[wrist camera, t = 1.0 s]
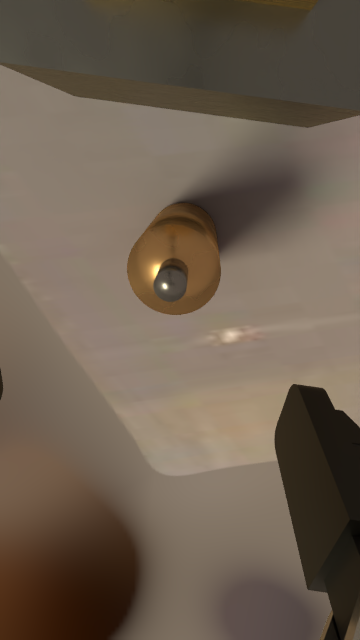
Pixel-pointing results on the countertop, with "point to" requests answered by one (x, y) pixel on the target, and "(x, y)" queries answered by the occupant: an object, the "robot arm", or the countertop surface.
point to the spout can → (176, 261)
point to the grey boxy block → (194, 54)
